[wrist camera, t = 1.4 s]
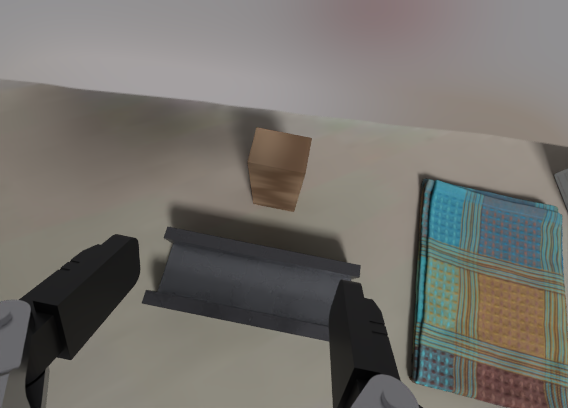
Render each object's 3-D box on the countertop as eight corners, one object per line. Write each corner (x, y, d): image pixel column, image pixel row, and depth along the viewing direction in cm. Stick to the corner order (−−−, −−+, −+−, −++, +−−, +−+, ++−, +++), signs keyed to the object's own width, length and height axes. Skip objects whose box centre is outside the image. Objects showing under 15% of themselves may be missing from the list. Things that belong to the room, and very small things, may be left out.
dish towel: (548, 211, 37) (568, 205, 34) (565, 421, 29) (592, 432, 27) (419, 180, 37) (429, 172, 35) (401, 379, 30) (413, 386, 27)
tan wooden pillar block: (253, 203, 34) (247, 161, 24) (259, 178, 35) (256, 127, 25) (293, 211, 34) (305, 173, 24) (298, 185, 35) (311, 138, 25)
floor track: (157, 302, 30) (141, 303, 26) (179, 235, 33) (167, 226, 29) (341, 340, 30) (352, 346, 26) (349, 269, 32) (360, 265, 29)
